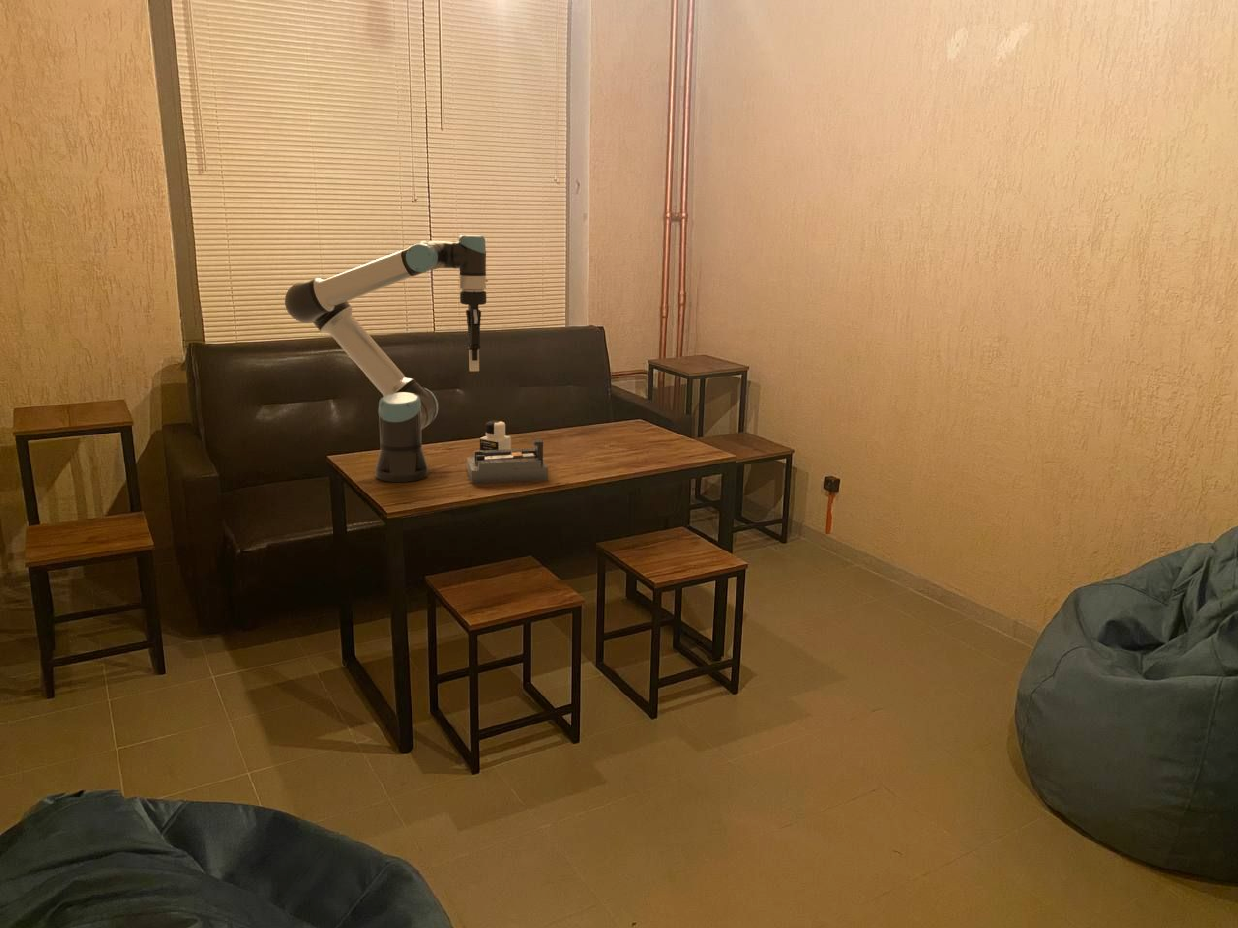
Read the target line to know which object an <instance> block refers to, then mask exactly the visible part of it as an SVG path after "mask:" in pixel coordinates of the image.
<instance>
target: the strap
mask: <svg viewBox="0 0 1238 928" xmlns="http://www.w3.org/2000/svg"><path fill="white" fill-rule="evenodd" d="M513 459H535V456H534V454H533V453H530V454H522V453H521V452H511V455H502V456H487V457H485V461H489V460H513Z"/></svg>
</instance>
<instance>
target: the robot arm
mask: <svg viewBox="0 0 1238 928" xmlns="http://www.w3.org/2000/svg"><path fill="white" fill-rule="evenodd" d="M486 248H487V247H486V239H485V237H484V236H483V235H480V234H479V235H478V234H460V236H459V237H458V241H444V240H443V241H441V240H440V241H439V240H432V239H431V240H420V241H419V242H417V243H414V244H412V245H411V246H409V247H407V248H405V249H402V250H399V251H397V252H395V253H394V252H393V253H391V254H388V255H386V256H383V257H381V258H378V259H376V260H375V259H374V260H373V261H370V262H368V263H365V264H362V265H359V266H357V267H354V268H351V269H349V270H347V271H344V272H341V273H339V274H335V275H332V276H331V277H328V278H322V277H321V278H320V277H319V278H318V277H316V278H313V279H312V280H307V281H300V282H296V283H295V284H293V285H291V286H290V287H289V289H288V290H287V292H286V293H285V298H284V304H285V309H286V311H287V312H288V315H290V317H292V318H293V319H295V320H296V321H298V322H300V323H303V324H304V323H305V324H308V323H309V324H311V323H313V324H314V325H315V327H316V328H317V329H318V331H320V332H321V333H324V334H325V333H326V334H329V335H330V336H331V337H332V339H334V340H335V341H336V343H337V344H338V345H339V346H340V347H341V348H342V350H343V351H344V352H345V353H346V354H347V356H348V357H349V358H350V359H351V360H352V361H353V362H354V364H355V365H356V366H357V367H358V368H359V369H360V370H361V372H363V374H364V375H365V376H366V377H367V378H368V379H369V381H370V382H371V383H372V384H373V385H374V387H376V388H377V390H378V391H379V392H380V393H381V394H382V395H383V396H382V397H381V398H380V400H379V403H378V410H377V412H378V418H379V419H378V420H379V421H378V422H379V423H378V424H379V439H380V451H379V455H378V457H377V462H376V465H375V470H374V471H375V472H374V473H375V477H376V478H377V479H378V480H380V481H382V482H383V481H384V482H388V483H389V482H390V483H407V482H415V481H419V480H422V479H425V478H427V477H428V476H429V473H430V472H429V464H428V462H427V459H426V457H425V454H424V451H423V447H422V444H423V443H422V441H423V440H422V430H424V429H425V428H426V427H428V426H429V425H430V424H432V423H433V422H434V421H435V419H436V418H437V415H438V412H439V402H438V399H437V397H436V395H435V394H434V392H432V391H431V390H429V389H428V388H426V387H422V386H421V385H420V384H419V383H418V382H417V381H416V379H415V378H412V377H406V376H405V374H404V373H403V372H402V371H401V370H400V369H399V368H398V366H397V365H396V364H395V363H394V362H393V361H392V359H391V358H390V357H389V356H388V355H387V353H385V351H383V349H382V348H381V347H380V346H379V344H377V342H376V341H375V340H374V339H373V338H372V336H370V334H369V333H368V332H367V331H366V330H365V328H364V327H363V326H362V325H361V324H360V322H359V321H358V320H357V319H356V318H355V317H354V315H353V307H352V305H350V303H349V302H348V301H351V300H354V299H356V298H360V297H361V296H365V295H367V294H370V293H372V292H373V293H374V292H375V291H378V290H380V289H383V288H386V287H388V286H391V285H394V284H396V283H399V282H401V281H405V280H407V279H410V278H413V277H416V276H419V275H421V274H425V273H427V272H429V271H432V270H437V269H454V270H455V269H457V270H458V269H459V289H460V291H459V302H460V304H462V305H468V307H467V309H465V315H466V325H467V335H468V337H467V338H468V339H467V340H468V342H467V344H468V346H467V351H468V355H469V356H468V357H469V359H468V361H469V363H468V364H469V368H468V369H469V372H480V349H481V345H480V340H481V339H480V335H481V334H480V333H481V320H482V319H481V318H482V311H481V310H480V309H479V306H480V305H486V304H487V292H486V289H487V283H488V282H489V278H487V249H486Z"/></svg>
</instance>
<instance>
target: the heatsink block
mask: <svg viewBox="0 0 1238 928" xmlns="http://www.w3.org/2000/svg"><path fill="white" fill-rule="evenodd" d="M531 442H532V444H533V445H534V448H531V447H530V448H515V449H514V448H511V449H506V450H480V449H479V450H473V456H470V457H469V456H468V457H466V471H467V473H468V476H469V479H470V483H471V485H478V484H498V483H499V484H500V483H517V482H518V483H521V482H522V483H523V482H538V481H539V482H541V481H549V467H548V465H547V463H546V462H545V461H544V441H543V439H541V437H531ZM511 452H521V453H522V454H530V453H533V454H534V456H535V459H513V460H489V461H485V457H487V456H502V455H511Z"/></svg>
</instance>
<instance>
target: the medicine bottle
mask: <svg viewBox="0 0 1238 928" xmlns="http://www.w3.org/2000/svg"><path fill="white" fill-rule="evenodd" d="M506 449H512V436H510V435H506V424H505V422H503V421H501V420H490V421H487V422H486V423H485V435H484V436H482V437H480V438H479V451H480V450H506Z"/></svg>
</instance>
